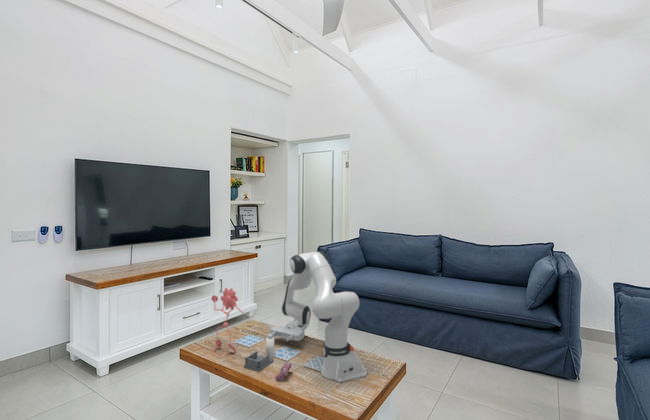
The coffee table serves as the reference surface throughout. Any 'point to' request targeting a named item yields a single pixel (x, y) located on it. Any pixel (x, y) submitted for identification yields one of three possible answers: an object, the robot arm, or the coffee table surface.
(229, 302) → the pink flower
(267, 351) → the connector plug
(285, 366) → the pink irregular piece
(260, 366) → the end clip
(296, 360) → the coffee table surface
